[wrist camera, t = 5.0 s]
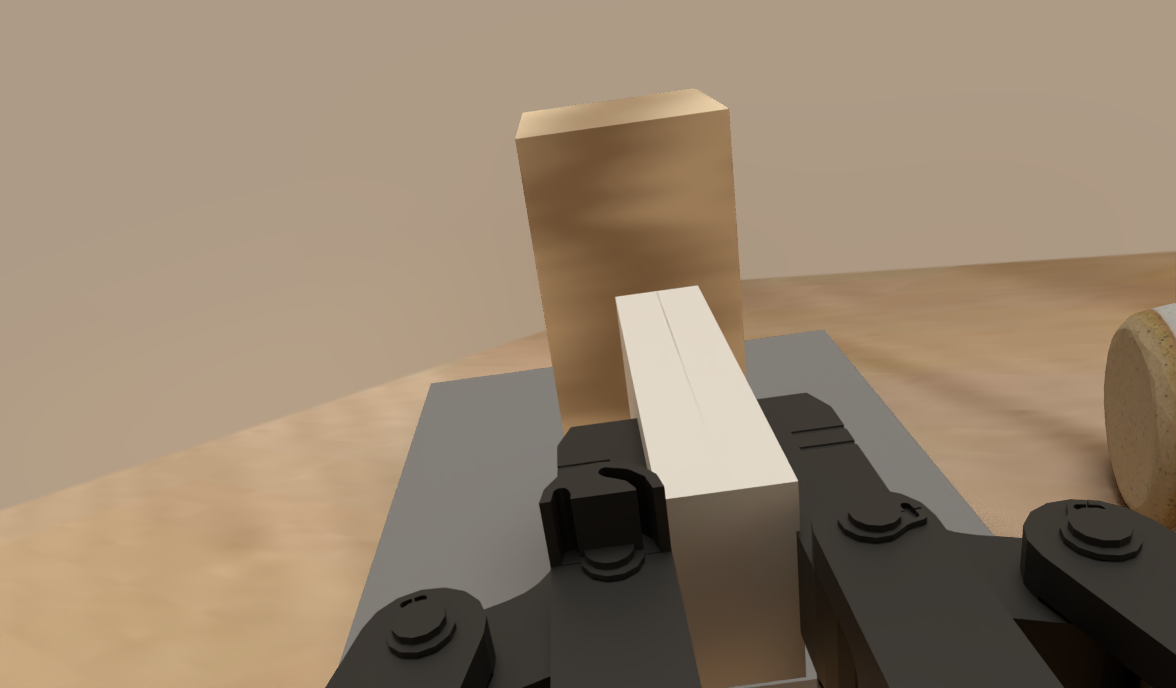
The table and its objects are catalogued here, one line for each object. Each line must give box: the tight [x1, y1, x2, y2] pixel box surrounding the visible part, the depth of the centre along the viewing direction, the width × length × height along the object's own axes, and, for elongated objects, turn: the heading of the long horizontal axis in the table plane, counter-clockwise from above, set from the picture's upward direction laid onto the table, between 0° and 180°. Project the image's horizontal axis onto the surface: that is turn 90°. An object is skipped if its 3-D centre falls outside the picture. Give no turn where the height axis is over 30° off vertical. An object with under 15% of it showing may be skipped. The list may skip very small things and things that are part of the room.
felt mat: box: [339, 330, 994, 688], centre depth 32 cm, size 20×22×1 cm
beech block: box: [515, 88, 747, 436], centre depth 24 cm, size 5×5×14 cm
